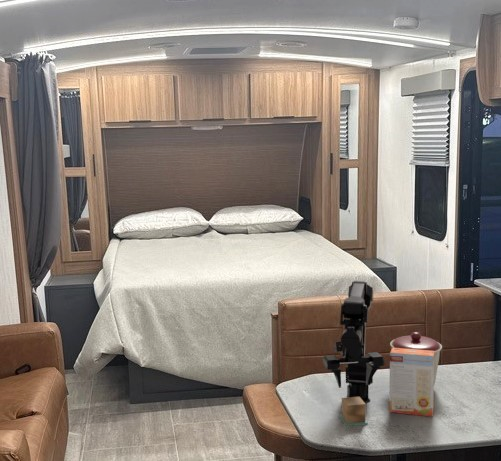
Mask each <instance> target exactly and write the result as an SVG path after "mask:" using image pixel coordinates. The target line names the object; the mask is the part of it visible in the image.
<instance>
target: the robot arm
mask: <svg viewBox="0 0 501 461" xmlns="http://www.w3.org/2000/svg"><path fill="white" fill-rule="evenodd" d="M372 302H374V289H373V287H372V286H371V285H369V284H368V282H367V281H364V280H363V281H362V280H354V281H351V284H350V285H349V286H348V295H347V297H346V298H345V299H344V301H343V303H341V307H340V308H341V309H340V319H339V325H341V326H344V329H343V332H342V334H341V337H340V341H335V342H334V343H333V346H334V347H333V348H334V349H333V350H334V352H335V353H337V352H338V353H339V354H340V355H341V356H342V357H341V358H339V357H338V356H337V355H336V354H333V355H332V354H331V355H324V357H323V358H322V364H323V366H325V367H324V368H326V370H329V371H330V372H332V373H333V374H334V378H335V381H336V383H337V386H338V388H339V389H340V388H341V387H342V373H341V372H342V371H341V368H340V367H341V365H346V366H345V384H348V385H347V386H346V387H347V388H346V389H347V390H346V394H347V396H346V397H347V398H348V397H360V398H361V399H362V400H363V402H364V403H366V402H371V399H370V398H369V387H370V386H371V385H372V384H373V382H374V379H373V377H374V375H375V374H376V372H377V371H378V370H379V369H381V367H382V366H383V367H384V366H385V358H384V357H383V355H381V354H380V353H379V352H377V351H375V352H373V351H372V352H367V354H365V353H366V335H367V334H366V333H367V331H366V330H367V329H366V328H367V323H368V316H369V310H370V309H371V307H372Z"/></svg>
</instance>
